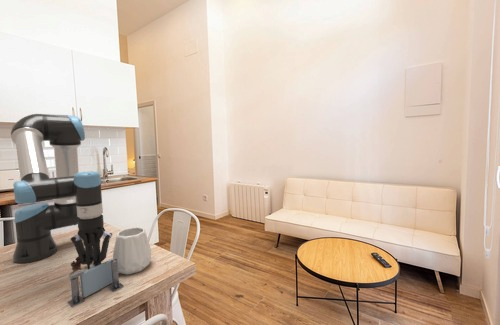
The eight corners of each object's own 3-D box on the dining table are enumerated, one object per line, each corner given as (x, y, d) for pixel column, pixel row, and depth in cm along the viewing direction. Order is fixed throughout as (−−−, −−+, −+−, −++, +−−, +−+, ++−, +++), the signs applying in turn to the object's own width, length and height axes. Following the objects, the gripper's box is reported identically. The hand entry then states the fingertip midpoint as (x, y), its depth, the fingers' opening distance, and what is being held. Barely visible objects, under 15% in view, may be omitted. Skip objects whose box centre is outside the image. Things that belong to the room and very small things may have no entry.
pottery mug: (96, 275, 94) (82, 261, 91) (77, 285, 95) (62, 271, 92) (111, 254, 105) (99, 240, 102) (94, 262, 106) (81, 249, 103)
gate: (74, 302, 76) (71, 276, 75) (71, 301, 77) (69, 275, 76) (116, 280, 88) (114, 257, 87) (114, 279, 89) (112, 256, 88)
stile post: (108, 288, 84) (106, 261, 83) (119, 283, 87) (117, 257, 86) (113, 291, 82) (111, 264, 81) (123, 286, 85) (121, 259, 84)
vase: (159, 261, 103) (157, 227, 101) (134, 279, 89) (131, 240, 88) (133, 257, 107) (130, 224, 106) (105, 274, 94) (102, 236, 92)
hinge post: (67, 302, 77) (65, 279, 76) (80, 296, 80) (78, 274, 79) (71, 307, 75) (69, 283, 74) (84, 301, 78) (82, 277, 77)
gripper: (63, 220, 79) (69, 287, 81) (104, 218, 81) (109, 284, 83) (77, 213, 87) (81, 275, 89) (114, 211, 88) (118, 273, 90)
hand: (95, 280), depth 86 cm, fingers closed
